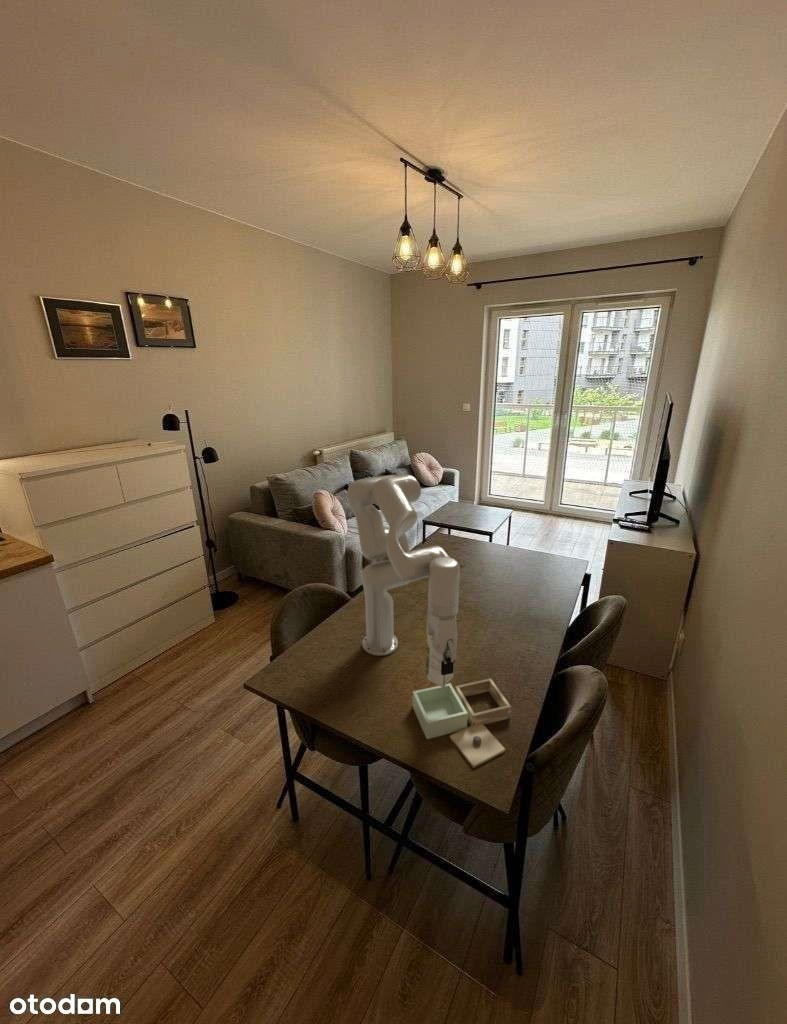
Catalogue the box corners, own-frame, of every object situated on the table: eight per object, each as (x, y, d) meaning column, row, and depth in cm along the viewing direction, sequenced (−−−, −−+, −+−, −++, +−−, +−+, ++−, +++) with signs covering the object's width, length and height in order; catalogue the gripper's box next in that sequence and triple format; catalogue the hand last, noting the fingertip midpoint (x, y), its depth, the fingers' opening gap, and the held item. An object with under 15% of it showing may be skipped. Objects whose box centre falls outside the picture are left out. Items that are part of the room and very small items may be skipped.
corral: (454, 697, 124) (455, 686, 123) (489, 688, 127) (490, 678, 126) (472, 727, 113) (472, 716, 112) (510, 718, 116) (511, 706, 115)
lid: (449, 737, 110) (450, 732, 110) (479, 723, 115) (480, 718, 114) (473, 768, 102) (474, 762, 101) (504, 751, 106) (505, 746, 106)
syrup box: (437, 667, 116) (438, 623, 111) (455, 677, 112) (457, 631, 108) (425, 678, 112) (426, 633, 107) (443, 689, 108) (445, 642, 103)
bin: (412, 706, 120) (412, 691, 119) (449, 698, 123) (450, 683, 122) (426, 739, 110) (426, 723, 108) (466, 729, 113) (467, 713, 111)
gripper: (417, 590, 112) (416, 645, 117) (442, 627, 96) (440, 689, 102) (443, 586, 114) (441, 641, 119) (472, 622, 98) (468, 682, 104)
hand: (441, 662), depth 110 cm, fingers closed on syrup box, 7 cm apart
